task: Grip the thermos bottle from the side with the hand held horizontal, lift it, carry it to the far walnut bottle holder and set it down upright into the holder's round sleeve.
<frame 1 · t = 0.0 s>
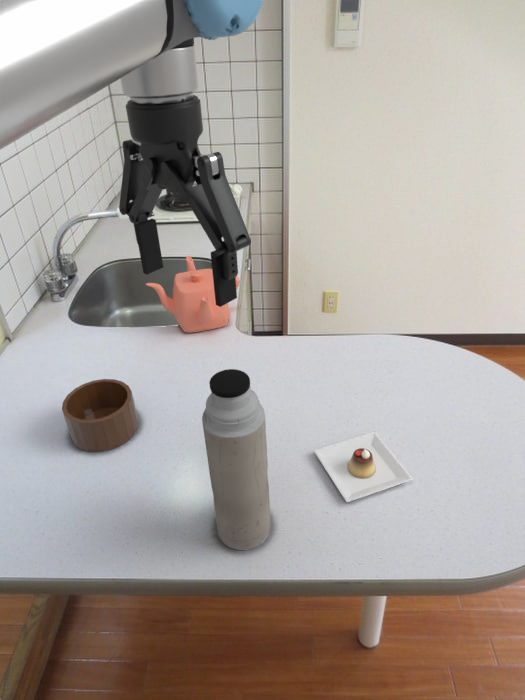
hand: (187, 285, 65), 37 cm above the table, tool pointing down, fingers open, 13 cm apart
thermos bottle: (244, 527, 79), on the table
dessert: (361, 469, 87), on the table
bottle holder: (105, 428, 98), on the table
pot: (198, 319, 130), on the table
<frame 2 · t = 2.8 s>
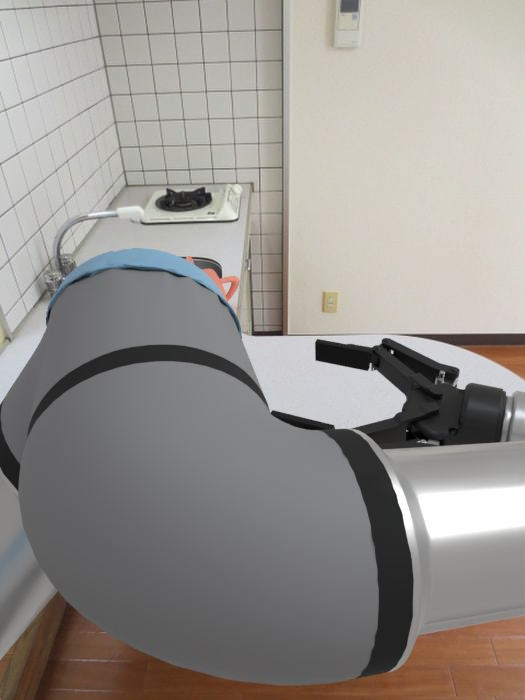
hand: (295, 382, 58), 30 cm above the table, tool horizontal, fingers open, 13 cm apart
nothing on the table moved.
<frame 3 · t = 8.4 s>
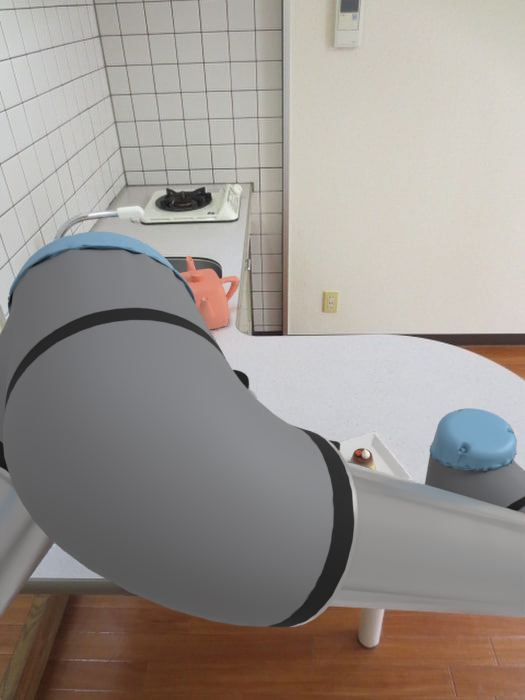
hand: (206, 446, 72), 15 cm above the table, tool horizontal, fingers closed on thermos bottle, 8 cm apart
thermos bottle: (244, 527, 79), on the table, touching gripper
everything else where it was.
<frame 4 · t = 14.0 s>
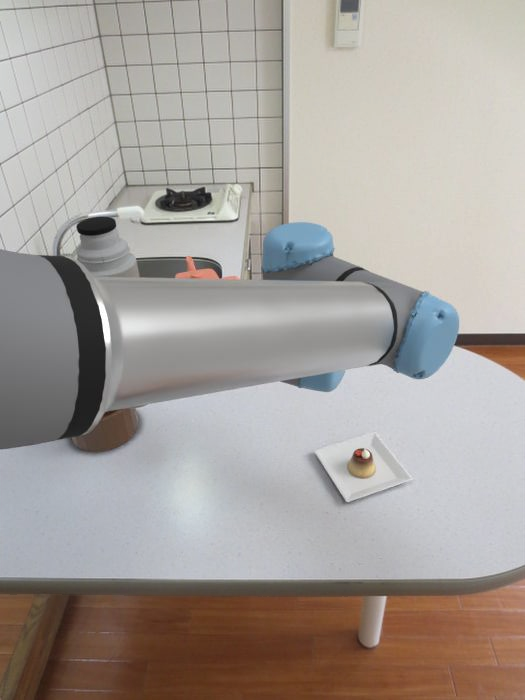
hand: (91, 303, 76), 30 cm above the table, tool horizontal, fingers closed on thermos bottle, 8 cm apart
thermos bottle: (136, 393, 83), point 15 cm above the table, touching gripper
everything else where it was.
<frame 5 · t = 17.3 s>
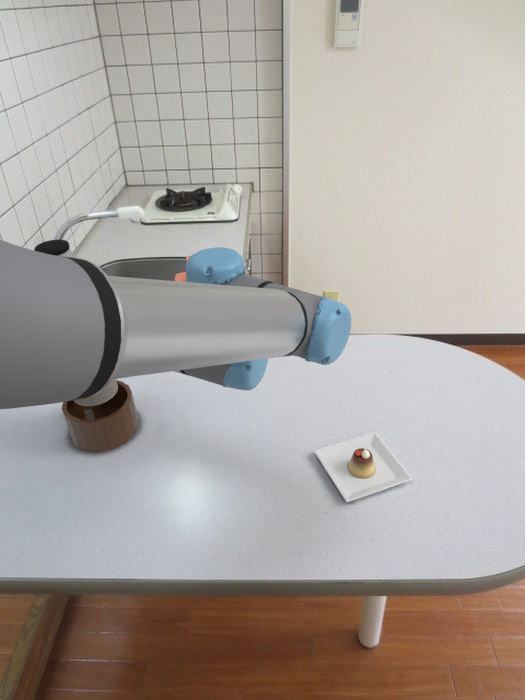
hand: (52, 314, 87), 24 cm above the table, tool horizontal, fingers closed on thermos bottle, 8 cm apart
thermos bottle: (95, 392, 93), point 9 cm above the table, touching gripper
everything else where it was.
when the fingers open (16 cm above the table, at t = 20.0 s): thermos bottle stays where it is, resting on bottle holder.
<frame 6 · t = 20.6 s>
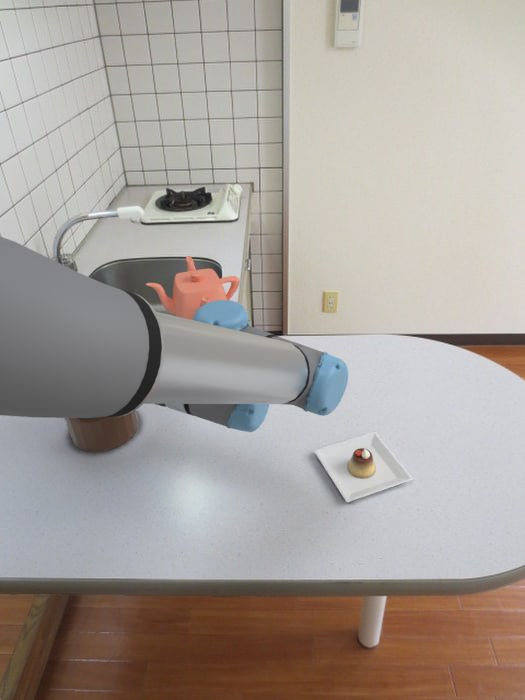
hand: (70, 354, 90), 16 cm above the table, tool horizontal, fingers open, 13 cm apart
thermos bottle: (105, 426, 98), resting on bottle holder
everything else where it was.
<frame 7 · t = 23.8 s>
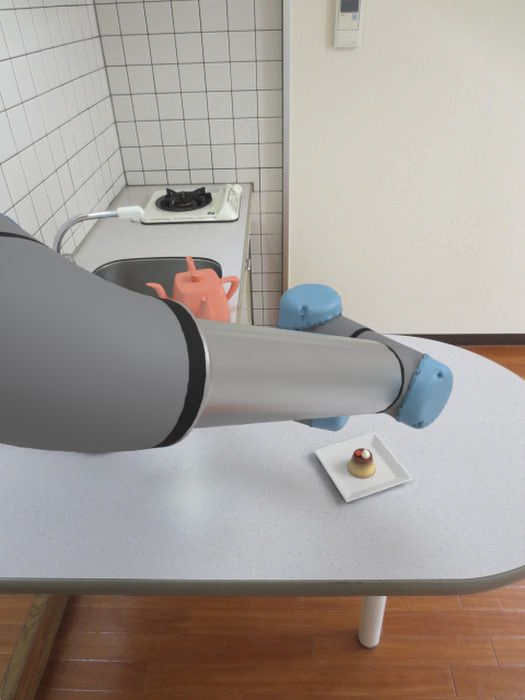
hand: (124, 346, 83), 21 cm above the table, tool horizontal, fingers open, 13 cm apart
nothing on the table moved.
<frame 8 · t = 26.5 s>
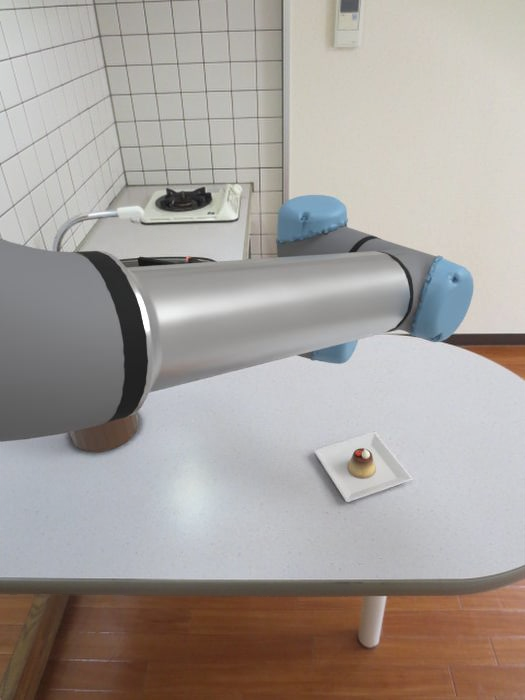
hand: (111, 284, 76), 32 cm above the table, tool horizontal, fingers open, 13 cm apart
nothing on the table moved.
at the end: thermos bottle 0.1 cm off-centre in the bottle holder, point 0.4 cm above the bottle holder's base; thermos bottle tilted 0°; the gripper is holding nothing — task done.
